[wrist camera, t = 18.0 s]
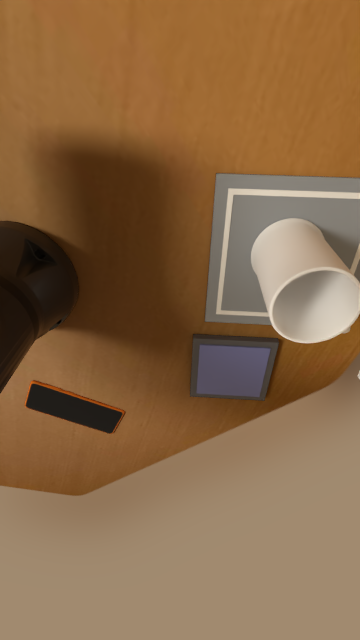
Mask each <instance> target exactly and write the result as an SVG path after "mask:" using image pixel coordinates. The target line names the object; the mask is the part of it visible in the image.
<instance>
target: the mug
mask: <svg viewBox="0 0 360 640" xmlns="http://www.w3.org/2000/svg"><path fill="white" fill-rule="evenodd" d="M251 264H252V267H253V270H254V272H255V273H256V275H257V277H258V281H259V284H260V287H261V291H262V294H263V298H264V301H265V304H266V308H267V311H268V315H269V318H270V321H271V323H272V325H273V327H274V329H275V330H276V331H277V332H278V333H279V334H280V335H281V336H283V337H284V338H286V339H288V340H291V341H294V342H299V343H317V342H322V341H325V340H328V339H331V338H333V337H335V336H337V335H339V334H341V333H347V332H349V331H350V326H351V325H352V324H353V323H354V322H355V320H356V319H357V318H358V316H359V314H360V283H359V281H358V280H357V278H356V277H355V276H354V275H353V274H352V272H351V271H350V270H349V269H348V267H347V266H346V265H345V264H344V263H343V261H342V260H341V259H340V258H339V256H338V255H337V254H336V253H335V252H334V250H333V249H332V248H331V247H330V246H329V244H328V243H327V242H326V241H325V239H324V236H323V234H322V232H321V231H320V229H319V228H318V227H317V226H316V225H314V224H313V223H311V222H309V221H307V220H304V219H299V218H289V219H283V220H280V221H277V222H275V223H273V224H271V225H270V226H268V227H267V228H266V229H264V230H263V231H262V232H261V233H260V235H259V236H258V237H257V239H256V240H255V242H254V244H253V247H252V251H251Z"/></svg>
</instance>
